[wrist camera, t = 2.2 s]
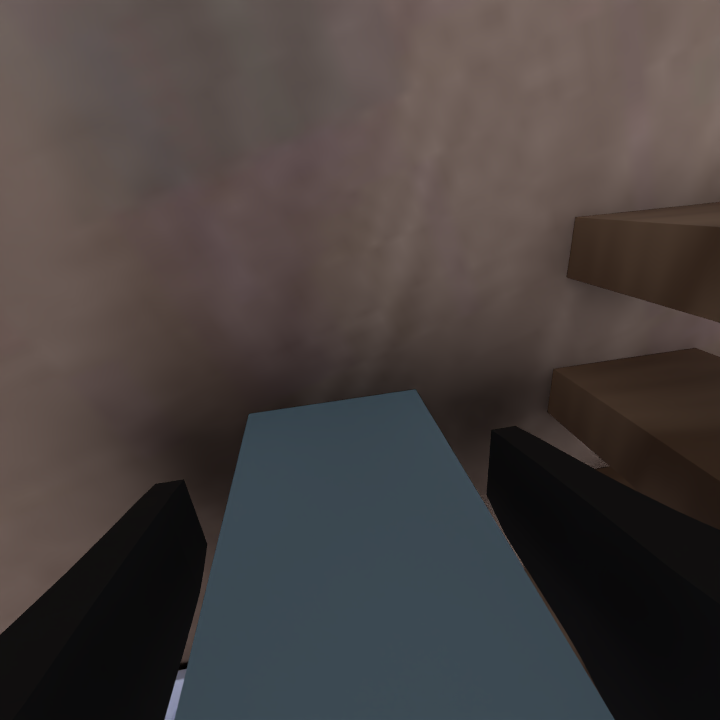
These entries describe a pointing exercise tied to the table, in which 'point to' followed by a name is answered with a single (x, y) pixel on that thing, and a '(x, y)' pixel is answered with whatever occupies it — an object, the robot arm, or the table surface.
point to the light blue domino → (370, 584)
